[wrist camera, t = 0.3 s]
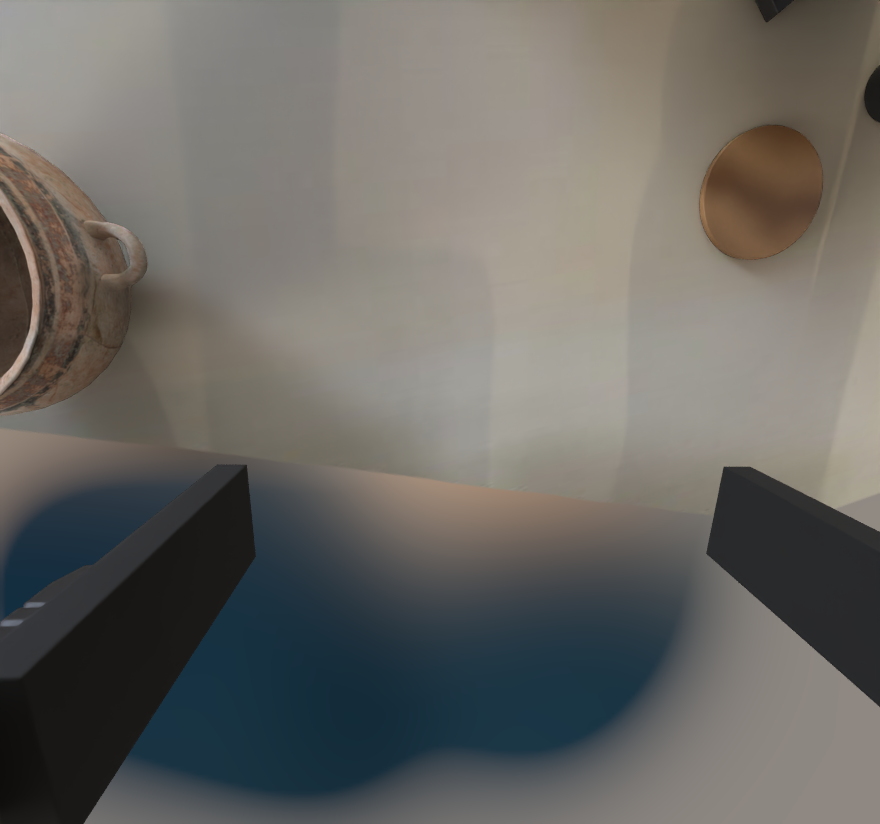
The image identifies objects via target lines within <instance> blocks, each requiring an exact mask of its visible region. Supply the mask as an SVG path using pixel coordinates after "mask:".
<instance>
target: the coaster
mask: <svg viewBox="0 0 880 824" xmlns="http://www.w3.org/2000/svg"><path fill="white" fill-rule="evenodd" d="M822 189H823V174H822V167H821V162H820V160H819V157H818V154H817V152H816V150H815V148H814V147H813V146H812V144H811V143H810V141H809V140H808V139H807V138H806V137H805V136H803V135H802V134H801V133H799V132H798V131H796V130H794V129H792V128H788V127H785V126H779V125H766V126H761V127H757V128H754V129H751V130H749V131H747V132H745V133H743V134H741V135H739V136H738V137H736V138H735V139H733V140H732V141H731V142H729V143H728V144H727V145H726V146H725V147H724V148H723V149H722V150H721V151H720V152H719V153H718V155H717V156H716V157H715V159H714V160H713V162H712V163H711V165H710V167H709V169H708V171H707V173H706V175H705V178H704V181H703V184H702V188H701V193H700V215H701V220H702V224H703V227H704V229H705V232H706V234H707V236H708V237H709V239H710V240H711V242H712V243H713V244H714V245H715V246H716V247H717V248H718V249H719V250H721V251H722V252H724V253H725V254H727V255H729V256H732V257H734V258H738V259H745V260H753V259H761V258H766V257H769V256H772V255H775V254H777V253H779V252H781V251H783V250H785V249H786V248H788V247H789V246H790V245H792V244H793V243H794V242H795V241H796V240H797V239H798V238H799V237H800V236H801V235H802V234H803V233H804V232H805V230H806V229H807V228H808V226H809V225H810V223H811V222H812V220H813V218H814V216H815V214H816V211H817V209H818V206H819V203H820V199H821V195H822Z"/></svg>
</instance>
